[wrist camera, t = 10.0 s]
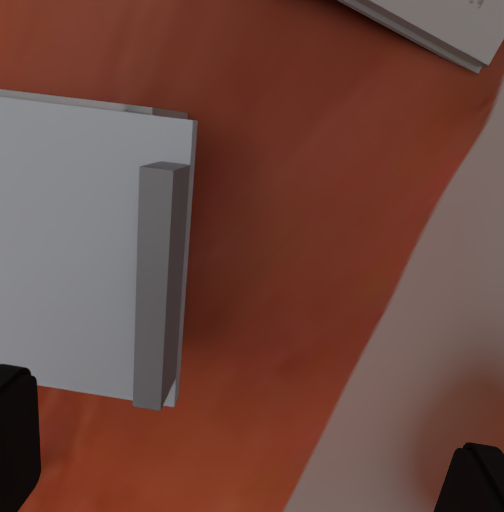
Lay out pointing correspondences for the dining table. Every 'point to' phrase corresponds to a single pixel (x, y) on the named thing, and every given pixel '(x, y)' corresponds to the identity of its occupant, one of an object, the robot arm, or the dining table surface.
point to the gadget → (443, 26)
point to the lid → (95, 247)
